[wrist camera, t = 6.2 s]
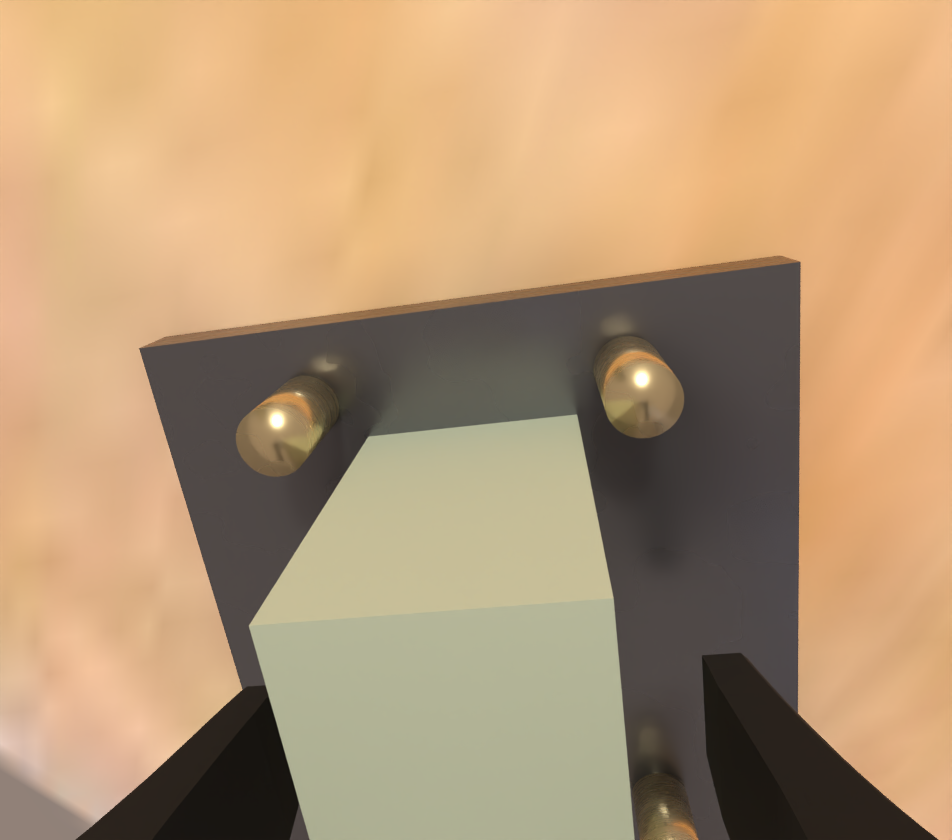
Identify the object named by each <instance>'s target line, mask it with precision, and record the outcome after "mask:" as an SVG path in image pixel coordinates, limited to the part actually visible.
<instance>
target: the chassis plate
mask: <svg viewBox="0 0 952 840" xmlns="http://www.w3.org/2000/svg"><path fill="white" fill-rule="evenodd" d="M139 349H140V353H141V356H142V359H143V362H144V366H145V369H146V372H147V376H148V379H149V382H150V385H151V389H152V392H153V395H154V399H155V402H156V405H157V409H158V412H159V415H160V418H161V422H162V425H163V428H164V432H165V435H166V438H167V442H168V445H169V448H170V451H171V455H172V458H173V461H174V465H175V468H176V471H177V475H178V478H179V481H180V484H181V488H182V491H183V494H184V498H185V501H186V504H187V508H188V511H189V514H190V517H191V521H192V524H193V527H194V531H195V534H196V537H197V541H198V544H199V547H200V550H201V554H202V557H203V560H204V564H205V567H206V570H207V574H208V577H209V580H210V583H211V587H212V590H213V593H214V597H215V600H216V603H217V607H218V610H219V613H220V616H221V620H222V623H223V626H224V630H225V633H226V636H227V640H228V643H229V646H230V649H231V653H232V656H233V659H234V663H235V666H236V669H237V673H238V676H239V679H240V682H241V686H242V689H244V688H246V687H247V686H261V685H265V681H264V678H263V674H262V671H261V667H260V664H259V660H258V656H257V653H256V649H255V646H254V642H253V639H252V635H251V632H250V628H249V625H250V623H251V622H252V620H253V618H254V617H255V615H256V614H257V612H258V610H259V609H260V607H261V606H262V604H263V603H264V601H265V599H266V598H267V596H268V595H269V593H270V591H271V590H272V588H273V587H274V585H275V584H276V582H277V580H278V579H279V577H280V576H281V574H282V572H283V571H284V569H285V568H286V566H287V565H288V563H289V561H290V560H291V558H292V557H293V555H294V553H295V552H296V550H297V549H298V547H299V546H300V544H301V542H302V541H303V539H304V538H305V536H306V535H307V533H308V531H309V530H310V528H311V527H312V525H313V523H314V522H315V520H316V519H317V517H318V516H319V514H320V512H321V511H322V509H323V508H324V506H325V504H326V503H327V501H328V500H329V498H330V497H331V495H332V493H333V492H334V490H335V489H336V487H337V485H338V484H339V482H340V481H341V479H342V478H343V476H344V474H345V473H346V471H347V470H348V468H349V466H350V465H351V463H352V462H353V460H354V459H355V457H356V455H357V454H358V452H359V451H360V449H361V447H362V446H363V444H364V443H365V441H366V440H367V438H368V437H370V436H379V435H388V434H398V433H407V432H417V431H426V430H435V429H445V428H454V427H464V426H473V425H482V424H492V423H501V422H511V421H520V420H529V419H539V418H548V417H558V416H567V415H576V414H577V417H578V422H579V427H580V432H581V437H582V442H583V447H584V452H585V457H586V462H587V467H588V472H589V477H590V482H591V487H592V492H593V497H594V502H595V507H596V512H597V517H598V522H599V527H600V532H601V537H602V542H603V548H604V553H605V558H606V563H607V568H608V573H609V578H610V583H611V588H612V593H613V598H614V609H615V620H616V632H617V643H618V655H619V666H620V678H621V689H622V701H623V712H624V724H625V735H626V747H627V758H628V770H629V781H630V793H631V804H632V816H633V827H634V839H635V840H730V839H729V836H728V833H727V830H726V827H725V825H724V822H723V819H722V815H721V811H720V807H719V803H718V799H717V796H716V792H715V788H714V784H713V780H712V775H711V771H710V767H709V763H708V759H707V755H706V735H705V714H704V692H703V671H702V655H713V654H727V653H742V654H743V655H744V656H745V657H747V658H748V659H749V661H750V662H751V663H752V664H753V665H754V666H755V668H756V669H757V670H758V671H759V672H760V673H761V674H762V675H763V677H764V678H765V679H766V680H767V681H768V682H769V683H770V684H771V685H772V687H773V688H774V689H775V690H776V691H777V692H778V693H779V694H780V695H781V696H782V697H783V698H784V700H785V701H786V702H787V703H788V704H789V705H790V706H791V707H792V708H793V709H794V710H795V711H796V712H797V713H798V578H799V415H800V262H799V261H796V260H793V259H789V258H786V257H783V256H774V257H767V258H759V259H752V260H744V261H737V262H729V263H721V264H714V265H706V266H699V267H691V268H684V269H676V270H669V271H661V272H653V273H646V274H638V275H631V276H623V277H616V278H608V279H600V280H593V281H585V282H578V283H570V284H563V285H555V286H548V287H540V288H532V289H525V290H517V291H510V292H502V293H495V294H487V295H479V296H472V297H464V298H457V299H449V300H442V301H434V302H427V303H419V304H411V305H404V306H396V307H389V308H381V309H374V310H366V311H359V312H351V313H343V314H336V315H328V316H321V317H313V318H306V319H298V320H290V321H283V322H275V323H268V324H260V325H253V326H245V327H238V328H230V329H222V330H215V331H207V332H200V333H192V334H185V335H177V336H169V337H164V338H162V339H160V340H157V341H155V342H153V343H150V344H148V345H146V346H143V347H141V348H139ZM290 840H310V839H309V836H308V832H307V829H306V825H305V822H304V818H303V815H302V811H301V808H300V804H299V806H298V810H297V814H296V818H295V822H294V825H293V829H292V833H291V837H290Z"/></svg>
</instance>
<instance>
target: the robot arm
mask: <svg viewBox="0 0 952 840" xmlns="http://www.w3.org/2000/svg"><path fill="white" fill-rule="evenodd" d="M702 671H703V692H704V714H705V735H706V755H707V759H708V763H709V767H710V771H711V775H712V780H713V784H714V788H715V792H716V796H717V799H718V803H719V807H720V811H721V815H722V819H723V822H724V825H725V827H726V830H727V833H728V836H729V839H730V840H938V839H937V838H935V837H934V836H933V835H932V834H930V833H929V832H928V831H927V830H925V829H924V828H923V827H921V826H920V825H919V824H918V823H917V822H915V821H914V820H913V819H912V818H910V817H909V816H908V815H907V814H906V813H904V812H903V811H902V810H901V809H900V808H898V807H897V806H896V805H895V804H894V803H893V802H891V801H890V800H889V799H888V798H887V797H886V796H884V795H883V794H882V793H881V792H880V791H879V790H878V789H877V788H875V787H874V786H873V785H872V784H871V783H870V782H869V781H867V780H866V779H865V778H864V777H863V776H862V775H861V774H860V773H858V772H857V771H856V770H855V769H854V768H853V767H852V766H851V765H850V764H849V763H848V762H847V761H846V760H844V759H843V758H842V757H841V756H840V755H839V754H838V753H837V752H836V751H835V750H834V749H833V748H832V747H831V746H830V745H829V744H828V743H827V742H826V741H825V740H824V739H823V738H822V737H821V736H820V735H819V734H818V733H817V732H816V731H815V730H814V729H813V728H812V727H811V726H809V725H808V723H807V722H806V721H805V720H804V719H803V718H802V717H801V716H800V715H799V714H798V713H797V712H796V711H795V710H794V709H793V708H792V707H791V706H790V705H789V704H788V703H787V702H786V701H785V700H784V698H783V697H782V696H781V695H780V694H779V693H778V692H777V691H776V690H775V689H774V688H773V687H772V685H771V684H770V683H769V682H768V681H767V680H766V679H765V678H764V677H763V675H762V674H761V673H760V672H759V671H758V670H757V669H756V668H755V666H754V665H753V664H752V663H751V662H750V661H749V659H748V658H747V657H745V656H744V655H743V654H742V653H727V654H713V655H702ZM298 806H299V800H298V797H297V793H296V790H295V786H294V783H293V779H292V776H291V772H290V769H289V765H288V762H287V758H286V755H285V751H284V748H283V744H282V741H281V737H280V734H279V730H278V727H277V723H276V720H275V716H274V713H273V709H272V706H271V702H270V699H269V695H268V692H267V688H266V685H261V686H247V687H246V688H244V689H243V690H242V691H241V692H240V693H239V694H237V695H236V696H235V697H234V698H233V699H232V700H231V701H230V702H228V703H227V704H226V705H225V706H224V707H223V708H222V709H221V710H220V711H219V712H218V713H217V714H216V715H215V716H213V717H212V718H211V719H210V720H209V721H208V722H207V723H206V724H205V725H204V726H203V727H202V728H201V729H200V730H199V731H198V732H197V733H196V734H194V735H193V736H192V737H191V738H190V739H189V740H188V741H187V742H186V743H185V744H184V745H183V746H182V747H181V748H180V749H178V750H177V751H176V752H175V753H174V754H173V755H172V756H171V757H170V758H169V759H168V760H167V761H166V762H164V763H163V764H162V765H161V766H160V767H159V768H158V769H157V770H156V771H155V772H154V773H153V774H152V775H150V776H149V777H148V778H147V779H146V780H145V781H144V782H143V783H141V784H140V785H139V786H138V787H137V788H136V789H134V790H133V791H132V792H131V793H130V794H129V795H128V796H126V797H125V798H124V799H123V800H122V801H121V802H120V803H118V804H117V805H116V806H115V807H114V808H113V809H111V810H110V811H109V812H108V813H107V814H106V815H105V816H103V817H102V818H101V819H100V820H99V821H98V822H96V823H95V824H94V825H93V826H92V827H91V828H89V829H88V830H87V831H86V832H84V833H83V834H82V835H81V836H80V837H78V838H77V839H76V840H290V837H291V833H292V829H293V825H294V822H295V818H296V814H297V810H298Z"/></svg>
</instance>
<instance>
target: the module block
mask: <svg viewBox="0 0 952 840" xmlns="http://www.w3.org/2000/svg"><path fill="white" fill-rule="evenodd" d="M249 628H250V632H251V635H252V639H253V642H254V646H255V649H256V653H257V656H258V660H259V664H260V667H261V671H262V674H263V678H264V681H265V685H266V688H267V692H268V695H269V699H270V702H271V706H272V709H273V713H274V716H275V720H276V723H277V727H278V730H279V734H280V737H281V741H282V744H283V748H284V751H285V755H286V758H287V762H288V765H289V769H290V772H291V776H292V779H293V783H294V786H295V790H296V793H297V797H298V800H299V804H300V808H301V811H302V815H303V818H304V822H305V825H306V829H307V832H308V836H309V839H310V840H635V839H634V827H633V816H632V804H631V793H630V781H629V770H628V758H627V747H626V735H625V724H624V712H623V701H622V689H621V678H620V666H619V655H618V643H617V632H616V620H615V609H614V598H613V593H612V588H611V583H610V578H609V573H608V568H607V563H606V558H605V553H604V548H603V542H602V537H601V532H600V527H599V522H598V517H597V512H596V507H595V502H594V497H593V492H592V487H591V482H590V477H589V472H588V467H587V462H586V457H585V452H584V447H583V442H582V437H581V432H580V427H579V422H578V417H577V414H576V415H567V416H558V417H548V418H539V419H529V420H520V421H511V422H501V423H492V424H482V425H473V426H464V427H454V428H445V429H435V430H426V431H417V432H407V433H398V434H388V435H379V436H370V437H368V438H367V440H366V441H365V443H364V444H363V446H362V447H361V449H360V451H359V452H358V454H357V455H356V457H355V459H354V460H353V462H352V463H351V465H350V466H349V468H348V470H347V471H346V473H345V474H344V476H343V478H342V479H341V481H340V482H339V484H338V485H337V487H336V489H335V490H334V492H333V493H332V495H331V497H330V498H329V500H328V501H327V503H326V504H325V506H324V508H323V509H322V511H321V512H320V514H319V516H318V517H317V519H316V520H315V522H314V523H313V525H312V527H311V528H310V530H309V531H308V533H307V535H306V536H305V538H304V539H303V541H302V542H301V544H300V546H299V547H298V549H297V550H296V552H295V553H294V555H293V557H292V558H291V560H290V561H289V563H288V565H287V566H286V568H285V569H284V571H283V572H282V574H281V576H280V577H279V579H278V580H277V582H276V584H275V585H274V587H273V588H272V590H271V591H270V593H269V595H268V596H267V598H266V599H265V601H264V603H263V604H262V606H261V607H260V609H259V610H258V612H257V614H256V615H255V617H254V618H253V620H252V622H251V623H250V625H249Z"/></svg>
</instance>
